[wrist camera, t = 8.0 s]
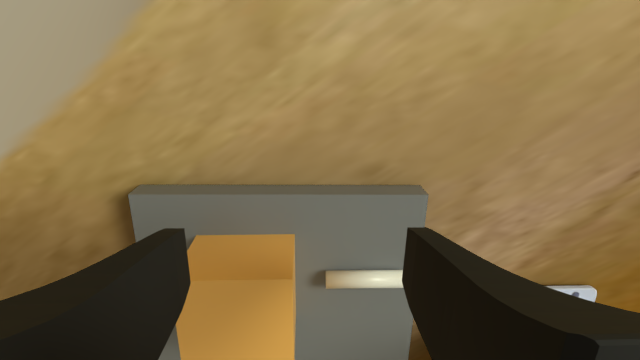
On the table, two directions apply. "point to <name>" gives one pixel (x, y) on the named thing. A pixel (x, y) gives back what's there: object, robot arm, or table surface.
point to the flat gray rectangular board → (311, 254)
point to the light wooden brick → (239, 298)
